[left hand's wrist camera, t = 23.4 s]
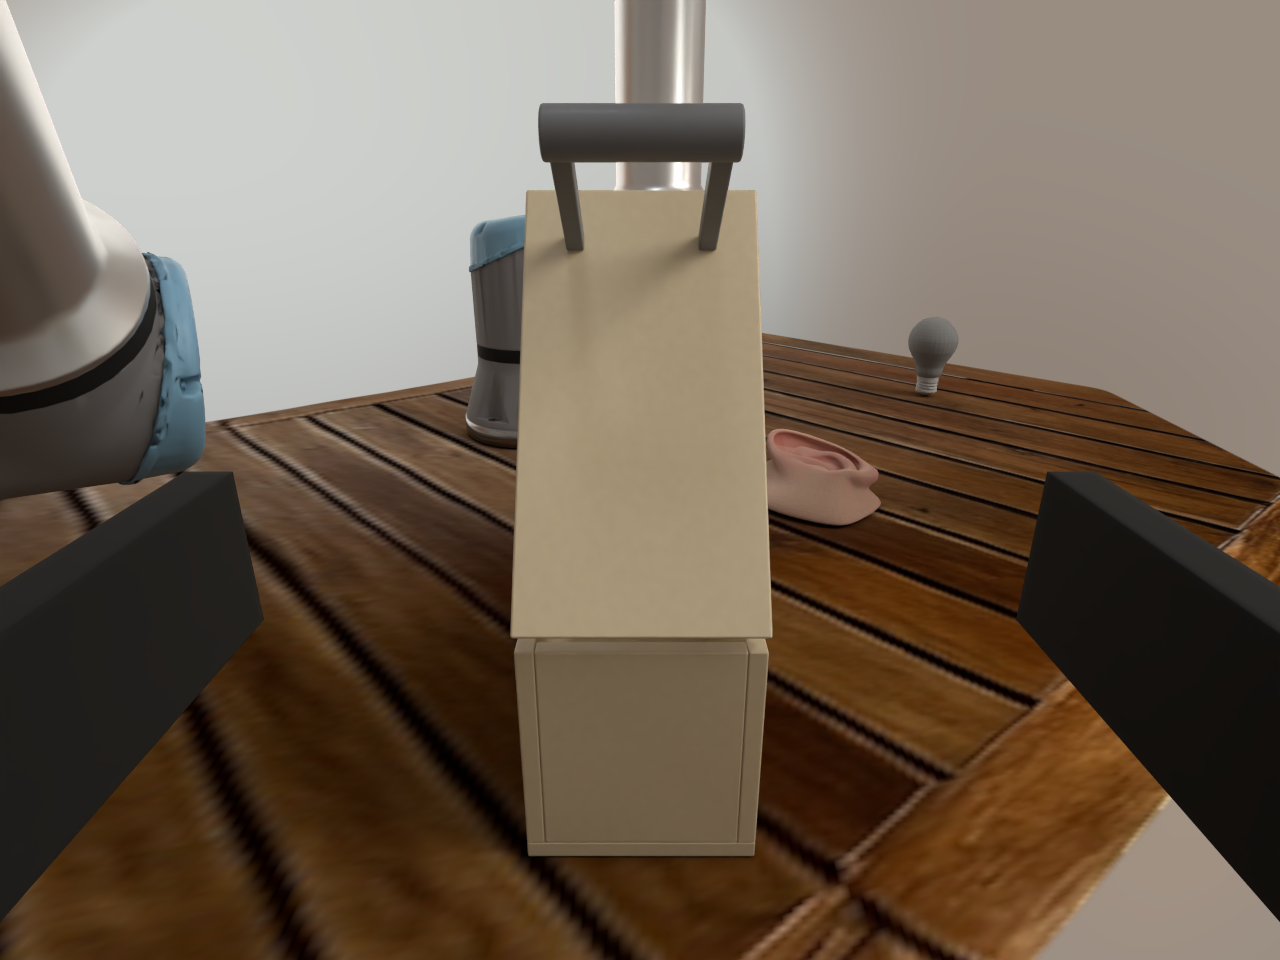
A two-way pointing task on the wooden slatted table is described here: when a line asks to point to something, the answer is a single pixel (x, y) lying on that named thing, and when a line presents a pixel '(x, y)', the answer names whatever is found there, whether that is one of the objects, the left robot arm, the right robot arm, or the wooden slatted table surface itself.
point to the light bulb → (931, 350)
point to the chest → (641, 745)
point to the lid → (641, 388)
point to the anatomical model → (817, 480)
